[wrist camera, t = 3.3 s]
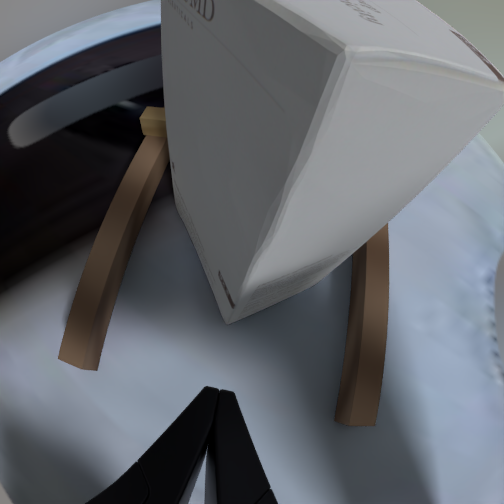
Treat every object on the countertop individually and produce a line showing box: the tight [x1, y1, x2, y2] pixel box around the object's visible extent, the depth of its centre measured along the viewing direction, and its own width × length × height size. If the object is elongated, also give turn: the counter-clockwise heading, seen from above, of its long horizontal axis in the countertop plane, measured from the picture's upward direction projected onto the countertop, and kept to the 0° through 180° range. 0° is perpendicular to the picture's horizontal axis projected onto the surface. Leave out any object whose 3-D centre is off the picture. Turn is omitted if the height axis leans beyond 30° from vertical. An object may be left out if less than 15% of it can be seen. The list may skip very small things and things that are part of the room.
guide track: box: [58, 106, 389, 426], centre depth 15 cm, size 18×16×4 cm
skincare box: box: [161, 0, 504, 325], centre depth 10 cm, size 8×6×15 cm
